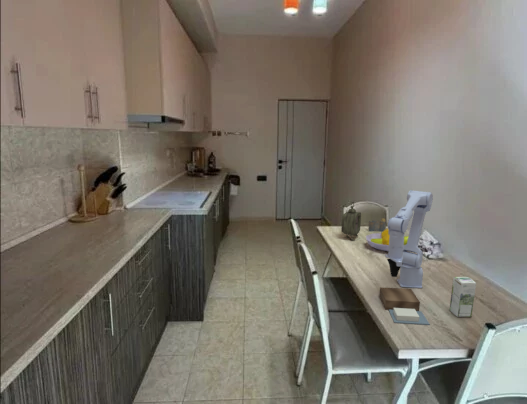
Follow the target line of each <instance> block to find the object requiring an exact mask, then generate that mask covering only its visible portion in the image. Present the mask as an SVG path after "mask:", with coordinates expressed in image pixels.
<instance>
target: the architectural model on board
mask: <svg viewBox="0 0 527 404" xmlns="http://www.w3.org/2000/svg"><path fill="white" fill-rule="evenodd" d="M386 225H387V221H386V218H385V217H384V218H382V217H381V220H372V221H370V220H368V231H369V232H383V231H384V230H385V229H387V228H386V227H387V226H386Z"/></svg>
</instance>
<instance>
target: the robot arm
mask: <svg viewBox="0 0 527 404" xmlns="http://www.w3.org/2000/svg"><path fill="white" fill-rule="evenodd" d="M433 196H434V195H433V193H432V192H431V191H421V190H413V189H410V190H409V191H408V192H407V196H406V204H405V205H404V206H402V207H401V208H399V210H398V211H397V213H396V214H395V216H393V217H391V218H389V220H388V223H387V228H388V230H389V235H390V237H389V251H387V252H388V253H387V254H385V255H384V256H385V258H387V259H386V260H387V262H388V265H389V271H390V276H391V278H397V277H398V275H399V278H397V279H396V281H397V283H398V285H399V286H400V287H401V288H411V289H412V288H413V289H414V288H415V289H423V279H424V278H423V276H424V271H423V268H422V263H423V255H424V253H423V251H422V249H420V247H419V243H420V237H421V234H422V230H423V225H424V222H425V217H426V214H427V212H431V208H432V205H433V200H434V197H433ZM411 219H412V220H411ZM410 221H411V224H410V227H409V223H410ZM408 227H409V232H408V233H409V234H408V236H409V237H408V241H407V244H406V245H404V236H405V233H406V232H407V230H408ZM403 245H404V246H403Z"/></svg>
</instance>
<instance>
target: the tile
mask: <svg viewBox="0 0 527 404" xmlns="http://www.w3.org/2000/svg"><path fill="white" fill-rule="evenodd" d="M393 313H394V315H395V318H396V320H399V321H415V322H419V315H418V314H417V312H416V310H415V309H407V308H393Z"/></svg>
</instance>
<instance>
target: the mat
mask: <svg viewBox="0 0 527 404" xmlns="http://www.w3.org/2000/svg"><path fill="white" fill-rule="evenodd" d="M416 312H417V314H418V315H419V322H415V321H399V320H396V318H395V315H394V313H393V310H388V313H389V315H390V316H391V318H392V320H393V323H394V324H402V325H403V324H405V325H406V324H407V325H424V326H430V322H429V321H428V319H427V318H426V316H425V314H424V313H423V311H421V310H419V311H416Z"/></svg>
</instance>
